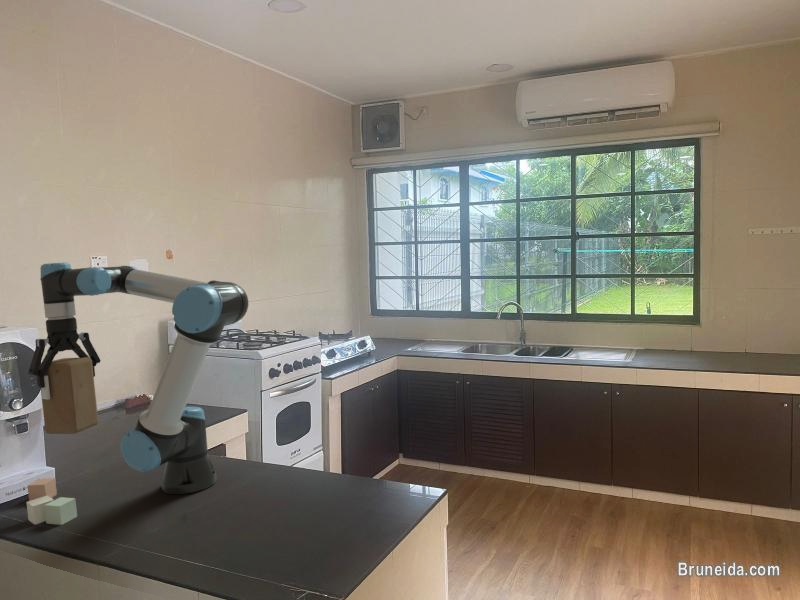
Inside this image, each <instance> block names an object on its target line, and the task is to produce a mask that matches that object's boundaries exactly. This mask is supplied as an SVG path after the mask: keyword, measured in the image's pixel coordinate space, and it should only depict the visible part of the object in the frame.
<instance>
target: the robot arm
mask: <svg viewBox="0 0 800 600" xmlns="http://www.w3.org/2000/svg"><path fill="white" fill-rule="evenodd" d="M71 267H72V266H71V264H70V263H69V262H52V263H51V262H50V263H43V264H41V265H40V279H39V280H40V282H41V283H40V285H41V289H42V299H43V309H44V316H45V317H44V318H45V319H47V320H45V327H46V334H47V338H37V339H35V350H34V352H33V356H32V359H31V363H30V366H29V369H28V373H27V374H28V375H29V376H35V377H36V382H37V387H38V389H39V388H40V392H41V391H42V396H41V400H42V399H47V400H48V399H50V391H49V382H48V376H47V375H45V373H46V371H47V369H48V368H49V366H50V364H51V362H52V361H54V360H55V357H56V355H57V354H58V353H59V352H64V351H73V353H74V354H75V355H76V356H77V358H84V357H88V358H91V359H92V366H93V376H94V378H95V377H96V371H95V367H96V366H97V364H100V363H101V358H100V357H99V355H98V353H97V351H96V348H95V347H94V345H93V344H92V342H91V340H90V333H88V332H80V333H79V332H78V321H77V318H76V317H75V316H76V314H77V313H76V305H75V297H77V296H80V297H81V296H91V297H94V296H100V295H104V294H114V293H115V294H116V293H122V294H125V295H127V294H128V295H133V296H137V297H141V298H146V299H151V300H156V301H160V302H161V301H163V302H166V303H170V304H171V303H172V307H171V308H172V309H171V313H172V315H173V321H174V325H173V328H174V330H175V332H176V334H177V335H176V337H175V339H174V343H173V345H172V348H171V350H170V353H169V356H168V358H167V361H166V363H165V366H164V368H163V372H162V374H161V376H160V379H159V381H158V384H157V387H156V389H155V391H154V394H153V397H152V400H151V403H150V405H149V407H148V409H146V410H143V411H142V412H141V413H140V415H139V417H138V420H137V422H136V424H135V427H134V429H131V430H128V431H127V432H126V433H125V434H124V435H123V437H122V438H121V441H120V453H121V455H122V456H123V459H124V462H125V463H126V464H127V465H128V466H129V467H131V468H132V469H134V470H135V471H138V472H141V473H142V472H143V473H145V472H146V473H147V472H149V471H152V470H156V469H157V468H159V467H160V466H162V465H164V464H165V466H164V467H165V468H164V472H163V475H162V480H161V489H162V491H163V492H164V493H165V494H168V495H169V494H170V495H185V494H192V493H196V492H201V491H203V490H205V489H208V488H210V487H211V486H213V485H214V484H215V483H216V482H217V472H216V470H215V468H214V466H213V464H212V461H211V458H210V456H209V453H208V452H209V451H208V442H207V441H208V440H207V427H206V420H207V419H206V418H205V410H204V409H203V408H202V407H200V406H187V403H188V402H189V399H190V396H191V394H192V392H193V389H194V386H195V384H196V381H197V379H198V377H199V374H200V371H201V369H202V366H203V364H204V362H205V359H206V357H207V355H208V351H209V349H210V347H211V345H214V344H217V343H218V342H219V340H220V337H221V335H222V333H223V330H224V328H225V327H226V326H231V325H234V324H236V323H238V322H239V321H241V320H242V319H243V318H244V317H245V315H246V313H247V312H248V309H249V297H248V295H247V293H246V291H245V290H244V289H243V288H242V286H240V285H238V284H237V283H235V282H232V281H231V282H230V281H219V280H214V279H213V280H209V281H207V282H204V281H201V280H200V281H199V280H195V279H188V278H184V277H178V276H173V275H168V274H163V273H157V272H151V271H147V270H141V269H138V268H137V267H135V266H130V265H121V266H120V265H119V266H104V267H103V266H102V267H101V266H100V267H98V266H93V267H90V266H89V267H83V268H82V267H81V268H71ZM78 340H79V341H80V342H81V344H82V345H83V348H84V349H85V351H86V352H85V351H84V350H83V349H82V347H81V346H80V344H78ZM47 345H49V347H48V349H47V351H46V352H47V353H46V354H45V356H44V353H45V349H46V346H47ZM43 357H44V358H43ZM40 364H41V365H40Z"/></svg>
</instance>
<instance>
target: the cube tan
mask: <svg viewBox="0 0 800 600" xmlns="http://www.w3.org/2000/svg"><path fill="white" fill-rule="evenodd" d="M27 493H28V501H31V500H34V499H37V498H41V497H44V496H49V497H50V498H52V499H53V498H54V497H55V496H57V495H58V491H57V483H56V478H55V477H51V478H50V477H47V478H37V479H36V480H34V481H33V482H31V483H29V484H28V485H27Z"/></svg>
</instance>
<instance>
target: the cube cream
mask: <svg viewBox="0 0 800 600" xmlns="http://www.w3.org/2000/svg"><path fill="white" fill-rule="evenodd" d="M54 500H55V499H54V498H53V497H52V498H50V497H49V496H44V497H41V498H37V499H34V500H31V501H29V500H28V501H26V509H27V520H28V521H29V522H30V523H32V524H33V525H39V524H41V523H44V522H46V515H45V506H44V505H46V504H48V503H50V502H52V501H54Z"/></svg>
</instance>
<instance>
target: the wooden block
mask: <svg viewBox="0 0 800 600" xmlns="http://www.w3.org/2000/svg"><path fill="white" fill-rule="evenodd" d="M40 365H41V363H40ZM45 375H47V376H48V382H49V391H50V399H48V400H47V399H42V398H41V403H42V411H43V412H42V413H43V421H44V430H45V433H46V434H49V435H74V434H78V433H80V432H83V431H85V430H87V429H90V428H92V427H94V426H97V425H98V424H99V416H98V405H97V404H98V403H97V397H96V387H95V377H94V376H93V366H92V359H91V358H88V357H84V358H79V357H63V358H59V359H53V361H52V362H51V364H50V366H49V368H48V369H47V371H46V373H45ZM40 393H41V394H40V395H41V397H42V391H41V390H40Z"/></svg>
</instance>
